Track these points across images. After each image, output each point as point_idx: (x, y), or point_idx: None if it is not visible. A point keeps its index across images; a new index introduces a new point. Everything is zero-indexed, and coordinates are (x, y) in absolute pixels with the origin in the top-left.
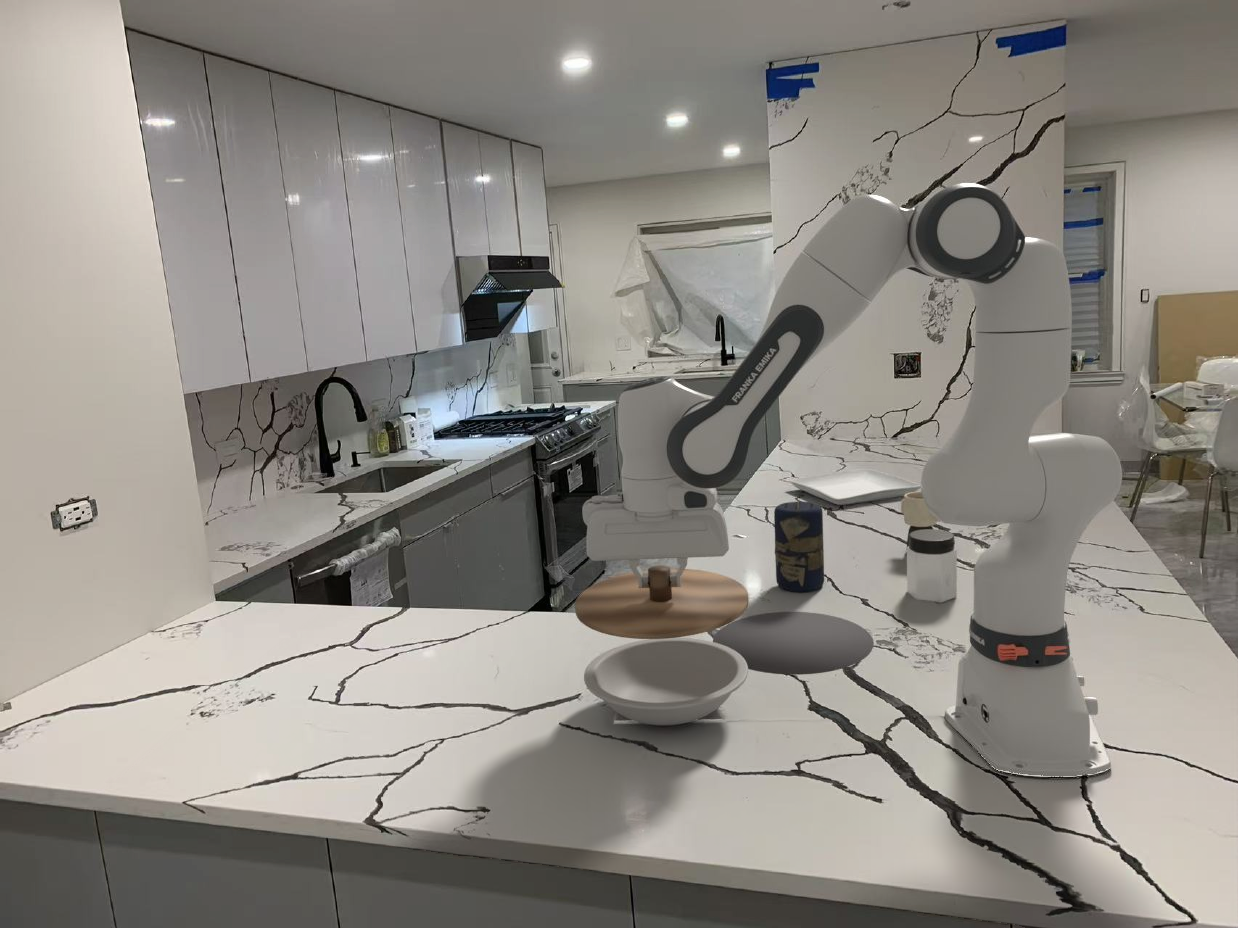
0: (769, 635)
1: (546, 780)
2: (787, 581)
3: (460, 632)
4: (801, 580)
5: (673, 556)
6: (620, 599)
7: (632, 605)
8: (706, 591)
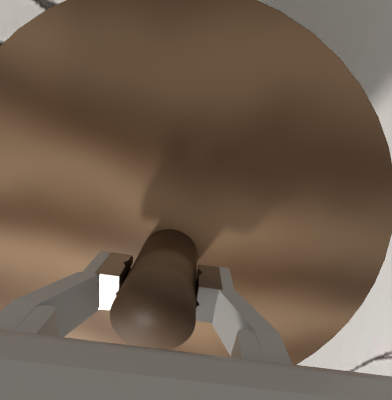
0: None
1: (336, 40)
2: None
3: (370, 367)
4: None
5: (29, 340)
6: (268, 265)
7: (244, 223)
8: (60, 269)
